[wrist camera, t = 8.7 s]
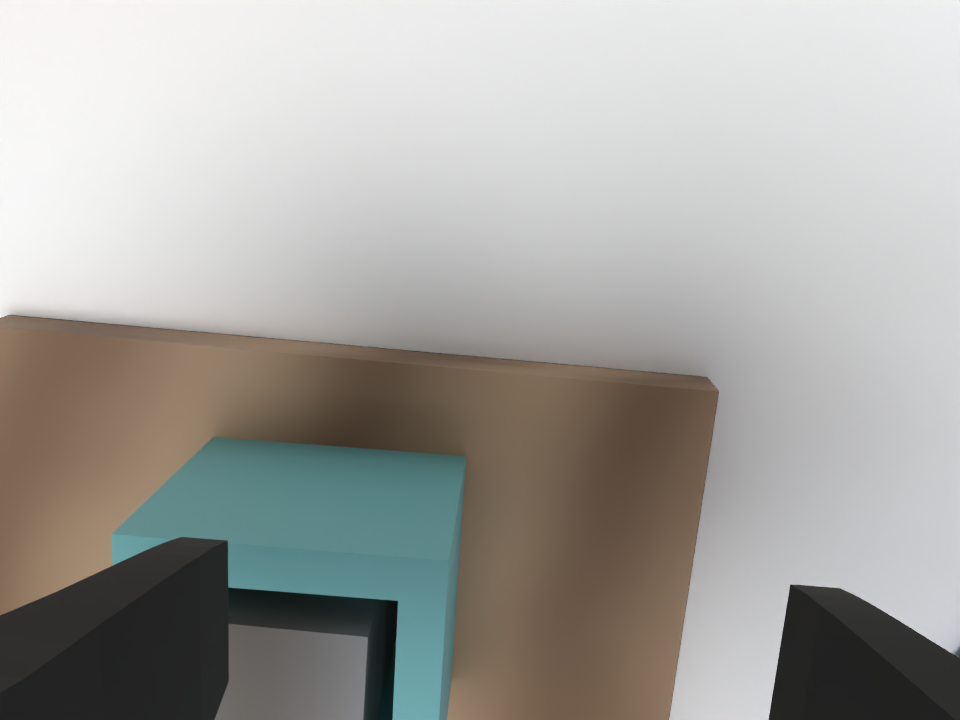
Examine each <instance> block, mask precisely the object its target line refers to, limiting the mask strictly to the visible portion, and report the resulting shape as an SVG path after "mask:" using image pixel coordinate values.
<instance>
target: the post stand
mask: <svg viewBox="0 0 960 720" xmlns="http://www.w3.org/2000/svg"><path fill="white" fill-rule="evenodd" d="M718 394H719V391H718V390H717V389H716V388H715V386H714V385H713V384H712V383H711V381H710V380H709V379H708V378H707V377H698V376H687V375H676V374H665V373H654V372H642V371H631V370H620V369H609V368H597V367H586V366H575V365H564V364H552V363H541V362H530V361H519V360H507V359H496V358H485V357H474V356H462V355H451V354H440V353H429V352H417V351H406V350H395V349H384V348H372V347H361V346H350V345H339V344H327V343H316V342H305V341H294V340H282V339H271V338H260V337H249V336H237V335H226V334H215V333H204V332H192V331H181V330H170V329H159V328H147V327H136V326H125V325H114V324H103V323H91V322H80V321H69V320H58V319H46V318H35V317H24V316H13V315H8V316H5V317H2V318H0V615H2V614H5V613H7V612H9V611H12V610H14V609H17V608H19V607H21V606H24V605H26V604H28V603H31V602H33V601H36V600H38V599H40V598H43V597H45V596H47V595H50V594H52V593H55V592H57V591H59V590H61V589H63V588H65V587H68V586H70V585H72V584H74V583H76V582H78V581H81V580H83V579H85V578H87V577H89V576H91V575H93V574H96V573H98V572H100V571H102V570H104V569H106V568H109V567H111V566H112V541H111V534H112V533H113V532H114V531H115V530H116V529H117V528H118V527H119V526H120V525H121V524H122V523H123V522H125V521H126V520H127V519H128V518H129V517H130V516H131V515H132V514H133V513H134V512H135V511H136V510H137V509H138V508H139V507H140V506H141V505H142V504H143V503H144V502H145V501H147V500H148V499H149V498H150V497H151V496H152V495H153V494H154V493H155V492H156V491H157V490H158V489H159V488H160V487H161V486H162V485H163V484H164V483H165V482H166V481H167V480H169V479H170V478H171V477H172V476H173V475H174V474H175V473H176V472H177V471H178V470H179V469H180V468H181V467H182V466H183V465H184V464H185V463H186V462H187V461H188V460H189V459H191V458H192V457H193V456H194V455H195V454H196V453H197V452H198V451H199V450H200V449H201V448H202V447H203V446H204V445H205V444H206V443H207V442H208V441H209V440H210V439H212V438H213V437H219V438H232V439H245V440H258V441H272V442H285V443H298V444H312V445H325V446H338V447H351V448H365V449H378V450H391V451H405V452H418V453H431V454H444V455H458V456H466V464H465V480H464V495H463V511H462V526H461V542H460V557H459V573H458V588H457V604H456V620H455V635H454V651H453V666H452V682H451V690H450V698H449V706H448V714H447V720H669V716H670V709H671V703H672V696H673V690H674V683H675V676H676V670H677V663H678V657H679V650H680V644H681V637H682V630H683V624H684V617H685V611H686V604H687V598H688V591H689V585H690V578H691V571H692V565H693V558H694V552H695V545H696V539H697V532H698V525H699V519H700V512H701V506H702V499H703V493H704V486H705V479H706V473H707V466H708V460H709V453H710V447H711V440H712V434H713V427H714V420H715V414H716V407H717V401H718ZM397 614H398V601H393V600H380V599H368V598H355V597H343V596H330V595H317V594H305V593H292V592H280V591H267V590H255V589H242V588H229V587H228V629H229V682H228V685H227V688H226V690H225V693H224V696H223V698H222V701H221V704H220V706H219V709H218V712H217V714H216V717H215V720H376V719H377V715H378V711H379V706H380V702H381V698H382V694H383V690H384V686H385V682H386V678H387V674H388V670H389V666H390V662H391V658H392V654H393V650H394V646H395V647H396V635H397Z"/></svg>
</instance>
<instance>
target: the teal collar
mask: <svg viewBox="0 0 960 720" xmlns="http://www.w3.org/2000/svg"><path fill="white" fill-rule="evenodd" d="M465 464H466V456H458V455H444V454H431V453H418V452H405V451H391V450H378V449H365V448H351V447H338V446H325V445H312V444H298V443H285V442H272V441H258V440H245V439H232V438H219V437H213V438H212V439H210V440H209V441H208V442H207V443H206V444H205V445H204V446H203V447H202V448H201V449H200V450H199V451H198V452H197V453H196V454H195V455H194V456H193V457H192V458H191V459H189V460H188V461H187V462H186V463H185V464H184V465H183V466H182V467H181V468H180V469H179V470H178V471H177V472H176V473H175V474H174V475H173V476H172V477H171V478H170V479H169V480H167V481H166V482H165V483H164V484H163V485H162V486H161V487H160V488H159V489H158V490H157V491H156V492H155V493H154V494H153V495H152V496H151V497H150V498H149V499H148V500H147V501H145V502H144V503H143V504H142V505H141V506H140V507H139V508H138V509H137V510H136V511H135V512H134V513H133V514H132V515H131V516H130V517H129V518H128V519H127V520H126V521H125V522H123V523H122V524H121V525H120V526H119V527H118V528H117V529H116V530H115V531H114V532H113V533H112V534H111V541H112V566H113V565H115V564H117V563H119V562H121V561H124V560H126V559H128V558H130V557H132V556H134V555H137V554H139V553H141V552H143V551H145V550H148V549H150V548H152V547H155V546H157V545H159V544H162V543H164V542H167V541H170V540H173V539H176V538H180V537H190V538H202V539H215V540H228V587H229V588H242V589H255V590H267V591H280V592H292V593H305V594H317V595H330V596H343V597H355V598H368V599H380V600H393V601H398V614H397V635H396V647H395V646H394V650H393V654H392V658H391V662H390V666H389V670H388V674H387V678H386V682H385V686H384V690H383V694H382V698H381V702H380V706H379V711H378V715H377V719H376V720H447V714H448V706H449V698H450V690H451V682H452V666H453V651H454V635H455V620H456V604H457V588H458V573H459V557H460V542H461V526H462V511H463V495H464V480H465Z"/></svg>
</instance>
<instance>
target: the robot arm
mask: <svg viewBox="0 0 960 720" xmlns="http://www.w3.org/2000/svg"><path fill="white" fill-rule="evenodd" d="M228 682H229V629H228V540H215V539H202V538H190V537H180V538H176V539H173V540H170V541H167V542H164V543H162V544H159V545H157V546H155V547H152V548H150V549H148V550H145V551H143V552H141V553H139V554H137V555H134V556H132V557H130V558H128V559H126V560H124V561H121V562H119V563H117V564H115V565H113V566H111V567H109V568H106V569H104V570H102V571H100V572H98V573H96V574H93V575H91V576H89V577H87V578H85V579H83V580H81V581H78V582H76V583H74V584H72V585H70V586H68V587H65V588H63V589H61V590H59V591H57V592H55V593H52V594H50V595H47V596H45V597H43V598H40V599H38V600H36V601H33V602H31V603H28V604H26V605H24V606H21V607H19V608H17V609H14V610H12V611H9V612H7V613H5V614H2V615H0V720H215V717H216V714H217V712H218V709H219V706H220V704H221V701H222V698H223V696H224V693H225V690H226V688H227V685H228ZM769 720H960V658H958V657H956V656H955V655H953V654H951V653H950V652H948V651H947V650H945V649H943V648H942V647H940V646H938V645H937V644H935V643H934V642H932V641H930V640H929V639H927V638H926V637H924V636H922V635H921V634H919V633H917V632H916V631H914V630H913V629H911V628H909V627H908V626H906V625H905V624H903V623H901V622H900V621H898V620H896V619H895V618H893V617H892V616H890V615H888V614H887V613H885V612H883V611H882V610H880V609H878V608H876V607H875V606H873V605H871V604H870V603H868V602H866V601H864V600H862V599H861V598H859V597H857V596H855V595H853V594H851V593H849V592H846V591H844V590H842V589H840V588H828V587H815V586H803V585H790V591H789V597H788V603H787V609H786V616H785V622H784V628H783V634H782V641H781V647H780V653H779V659H778V665H777V672H776V678H775V684H774V690H773V697H772V703H771V709H770V715H769Z"/></svg>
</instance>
